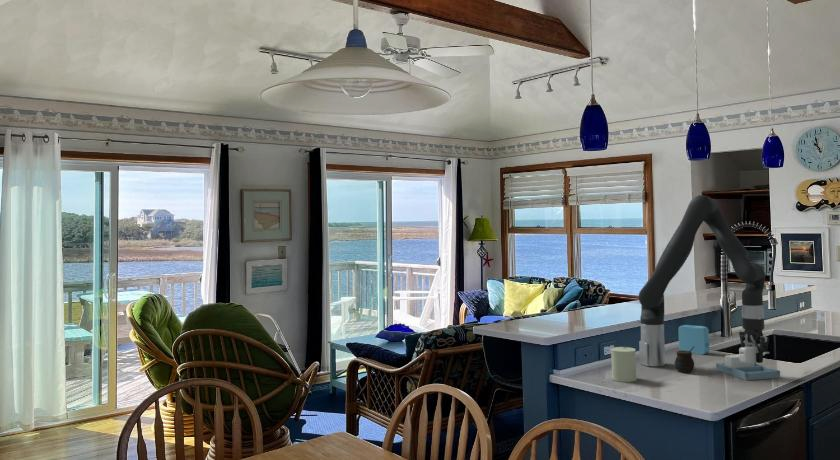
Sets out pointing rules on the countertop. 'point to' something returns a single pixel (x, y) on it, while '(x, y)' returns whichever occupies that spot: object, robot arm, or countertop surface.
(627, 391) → the countertop surface
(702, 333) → the light blue square block
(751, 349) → the power adapter
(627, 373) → the can
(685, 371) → the mate gourd
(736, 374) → the dock
